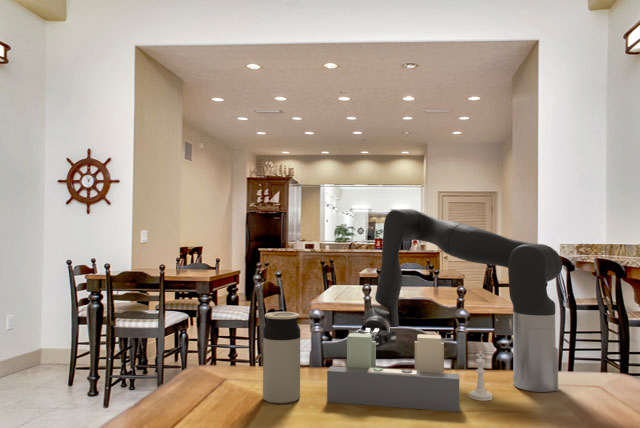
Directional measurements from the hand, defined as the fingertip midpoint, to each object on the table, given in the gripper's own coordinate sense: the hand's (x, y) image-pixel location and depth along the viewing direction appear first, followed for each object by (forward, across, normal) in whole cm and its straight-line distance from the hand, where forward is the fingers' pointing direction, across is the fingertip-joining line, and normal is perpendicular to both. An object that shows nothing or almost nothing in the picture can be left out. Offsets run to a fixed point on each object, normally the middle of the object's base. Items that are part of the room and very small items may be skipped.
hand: (368, 342), depth 131 cm
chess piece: (+10, +26, +9) cm, 29 cm away
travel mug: (+21, -16, +9) cm, 28 cm away
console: (+15, +7, +9) cm, 19 cm away
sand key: (+11, +15, +7) cm, 20 cm away
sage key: (+14, 0, +7) cm, 15 cm away
